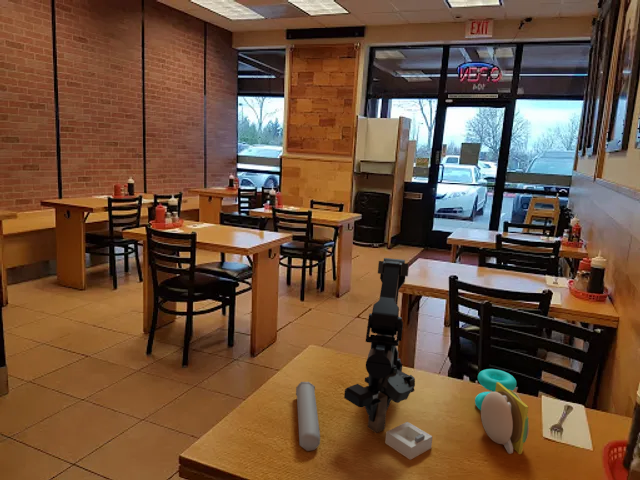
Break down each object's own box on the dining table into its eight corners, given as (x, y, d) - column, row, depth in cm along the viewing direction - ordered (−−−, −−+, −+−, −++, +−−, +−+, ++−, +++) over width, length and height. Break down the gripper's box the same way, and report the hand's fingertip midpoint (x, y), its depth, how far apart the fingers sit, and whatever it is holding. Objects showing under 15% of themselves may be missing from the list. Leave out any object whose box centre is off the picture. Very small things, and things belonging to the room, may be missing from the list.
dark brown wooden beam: (376, 423, 121) (378, 390, 120) (384, 429, 119) (387, 395, 117) (367, 427, 119) (370, 394, 118) (376, 433, 117) (379, 399, 116)
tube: (325, 438, 107) (317, 384, 132) (303, 431, 107) (299, 378, 131) (316, 458, 108) (310, 401, 133) (295, 452, 108) (292, 395, 132)
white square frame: (406, 432, 118) (407, 417, 117) (431, 447, 112) (432, 432, 112) (385, 443, 113) (386, 427, 112) (410, 459, 107) (411, 443, 107)
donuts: (517, 371, 133) (517, 387, 124) (512, 405, 134) (512, 422, 125) (479, 364, 136) (477, 378, 127) (475, 396, 138) (473, 413, 129)
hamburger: (472, 426, 122) (477, 383, 120) (501, 424, 124) (507, 381, 122) (498, 455, 111) (504, 408, 109) (530, 453, 112) (537, 406, 110)
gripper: (379, 383, 104) (373, 448, 107) (432, 363, 116) (426, 422, 119) (344, 364, 113) (340, 425, 115) (397, 347, 124) (392, 402, 127)
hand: (376, 419), depth 119 cm, fingers closed on dark brown wooden beam, 3 cm apart
